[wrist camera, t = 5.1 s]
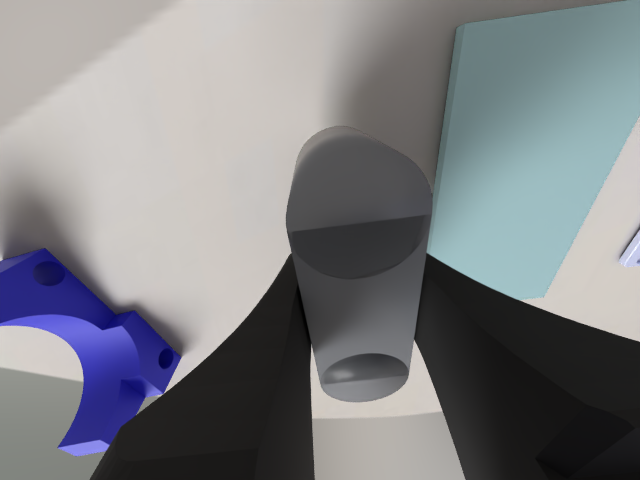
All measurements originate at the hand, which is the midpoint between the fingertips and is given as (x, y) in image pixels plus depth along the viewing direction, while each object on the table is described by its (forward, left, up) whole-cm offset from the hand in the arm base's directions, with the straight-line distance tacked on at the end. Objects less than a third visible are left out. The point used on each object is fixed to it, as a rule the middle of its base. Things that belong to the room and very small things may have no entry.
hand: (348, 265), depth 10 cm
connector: (0, 0, -2) cm, 2 cm away
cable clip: (+17, +5, -5) cm, 19 cm away
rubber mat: (-10, 0, -4) cm, 11 cm away
